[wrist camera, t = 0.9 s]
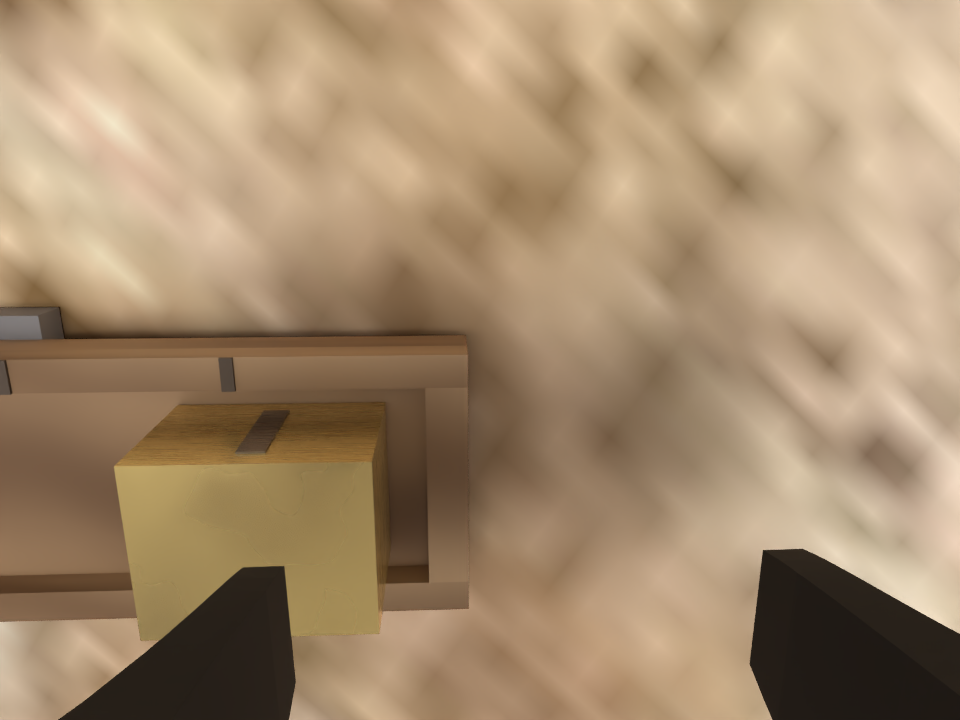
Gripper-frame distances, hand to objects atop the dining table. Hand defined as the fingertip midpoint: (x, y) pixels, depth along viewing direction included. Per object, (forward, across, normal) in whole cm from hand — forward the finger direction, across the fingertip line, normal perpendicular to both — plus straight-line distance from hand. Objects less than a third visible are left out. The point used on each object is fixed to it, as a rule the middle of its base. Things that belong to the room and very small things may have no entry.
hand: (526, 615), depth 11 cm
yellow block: (+8, +5, +1) cm, 9 cm away
